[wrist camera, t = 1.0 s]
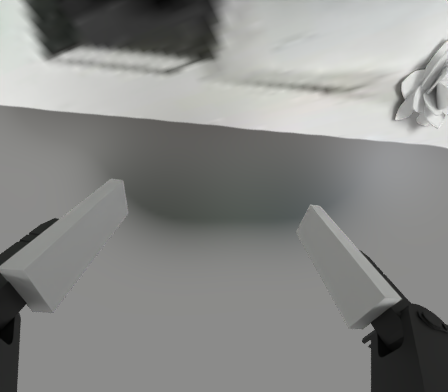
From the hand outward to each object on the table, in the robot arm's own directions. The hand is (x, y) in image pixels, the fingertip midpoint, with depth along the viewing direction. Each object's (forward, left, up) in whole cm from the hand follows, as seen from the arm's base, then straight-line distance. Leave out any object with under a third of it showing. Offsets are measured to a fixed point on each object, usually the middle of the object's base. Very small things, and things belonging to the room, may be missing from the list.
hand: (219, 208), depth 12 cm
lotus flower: (-17, +38, -28) cm, 50 cm away
